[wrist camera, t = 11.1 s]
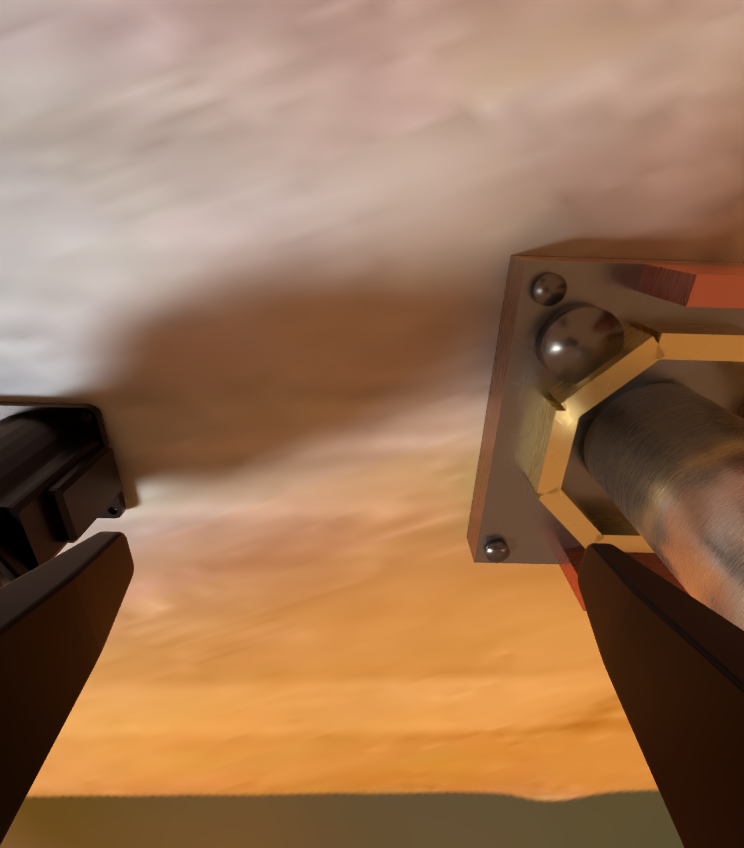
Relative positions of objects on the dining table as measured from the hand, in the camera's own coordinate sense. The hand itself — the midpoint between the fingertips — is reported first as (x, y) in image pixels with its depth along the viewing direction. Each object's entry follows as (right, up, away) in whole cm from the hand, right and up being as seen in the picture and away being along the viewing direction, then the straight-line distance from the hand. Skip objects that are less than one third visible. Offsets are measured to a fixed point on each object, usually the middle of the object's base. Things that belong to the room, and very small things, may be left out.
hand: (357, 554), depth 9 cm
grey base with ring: (+12, +3, +13) cm, 18 cm away
